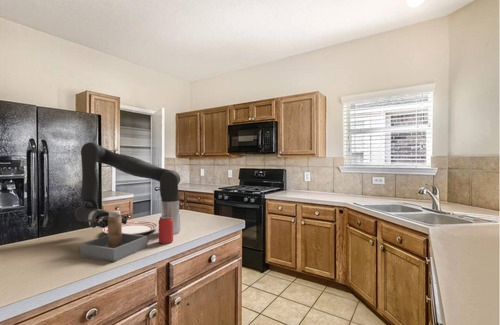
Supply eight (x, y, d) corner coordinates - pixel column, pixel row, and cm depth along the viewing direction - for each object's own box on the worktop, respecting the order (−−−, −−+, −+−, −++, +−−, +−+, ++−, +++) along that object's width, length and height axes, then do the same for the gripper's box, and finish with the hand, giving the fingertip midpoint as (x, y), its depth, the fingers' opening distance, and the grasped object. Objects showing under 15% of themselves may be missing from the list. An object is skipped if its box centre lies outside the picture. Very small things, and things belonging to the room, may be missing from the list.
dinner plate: (166, 226, 153) (166, 220, 153) (142, 241, 126) (142, 234, 126) (122, 225, 156) (122, 219, 156) (89, 239, 129) (89, 232, 129)
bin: (116, 242, 122) (116, 232, 122) (147, 247, 116) (147, 236, 116) (80, 256, 105) (80, 244, 105) (114, 262, 99) (113, 249, 99)
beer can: (174, 239, 127) (174, 215, 127) (171, 244, 120) (171, 218, 120) (161, 240, 127) (161, 215, 127) (156, 244, 120) (156, 218, 120)
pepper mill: (115, 246, 114) (114, 210, 114) (124, 247, 112) (124, 211, 112) (105, 250, 109) (104, 212, 109) (114, 251, 107) (114, 213, 107)
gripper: (82, 212, 115) (97, 217, 105) (116, 207, 126) (131, 212, 116) (83, 229, 116) (97, 236, 105) (116, 223, 126) (132, 228, 116)
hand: (115, 223), depth 111 cm, fingers open, 8 cm apart
